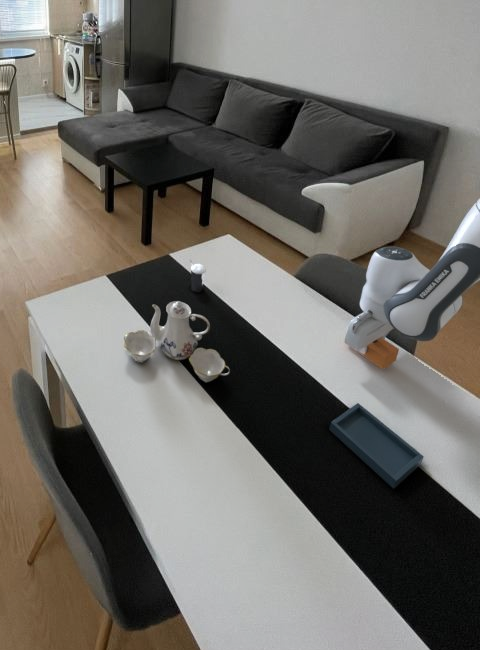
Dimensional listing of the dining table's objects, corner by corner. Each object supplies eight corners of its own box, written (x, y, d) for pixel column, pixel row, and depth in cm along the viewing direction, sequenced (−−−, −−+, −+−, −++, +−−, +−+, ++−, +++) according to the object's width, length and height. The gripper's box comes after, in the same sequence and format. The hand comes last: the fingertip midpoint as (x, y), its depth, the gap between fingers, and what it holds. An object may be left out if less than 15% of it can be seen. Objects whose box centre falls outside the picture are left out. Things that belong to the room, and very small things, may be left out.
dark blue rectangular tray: (421, 464, 88) (424, 456, 87) (393, 489, 84) (396, 481, 83) (355, 410, 99) (357, 402, 98) (328, 429, 96) (330, 422, 95)
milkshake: (193, 281, 143) (194, 256, 140) (206, 289, 140) (208, 264, 136) (184, 287, 141) (186, 262, 137) (198, 295, 137) (200, 270, 133)
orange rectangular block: (395, 360, 110) (399, 346, 108) (382, 369, 107) (386, 355, 106) (357, 334, 118) (360, 321, 116) (344, 342, 116) (347, 328, 114)
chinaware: (118, 372, 114) (115, 330, 106) (130, 322, 128) (128, 281, 120) (228, 397, 106) (234, 353, 98) (228, 341, 119) (233, 298, 112)
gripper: (368, 328, 100) (357, 371, 105) (418, 297, 108) (406, 339, 113) (342, 311, 106) (333, 353, 111) (391, 283, 114) (381, 324, 119)
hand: (370, 346), depth 112 cm, fingers closed on orange rectangular block, 5 cm apart
